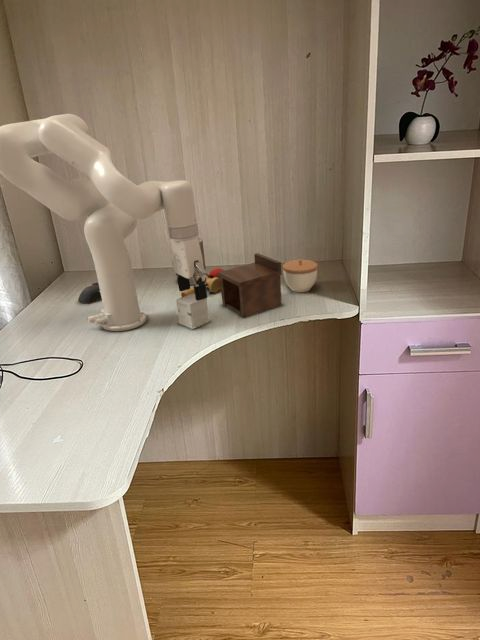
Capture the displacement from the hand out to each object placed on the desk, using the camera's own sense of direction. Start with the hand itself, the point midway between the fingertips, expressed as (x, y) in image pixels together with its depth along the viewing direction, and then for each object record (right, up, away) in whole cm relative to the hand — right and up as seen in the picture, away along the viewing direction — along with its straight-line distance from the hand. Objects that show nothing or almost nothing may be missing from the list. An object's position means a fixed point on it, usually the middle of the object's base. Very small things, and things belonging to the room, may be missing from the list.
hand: (193, 294), depth 142 cm
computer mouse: (-35, +3, +30) cm, 46 cm away
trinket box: (+31, +4, +23) cm, 38 cm away
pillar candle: (-5, +8, +36) cm, 37 cm away
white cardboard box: (0, -8, +4) cm, 9 cm away
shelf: (+16, -2, +13) cm, 20 cm away
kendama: (+1, +3, +25) cm, 25 cm away
